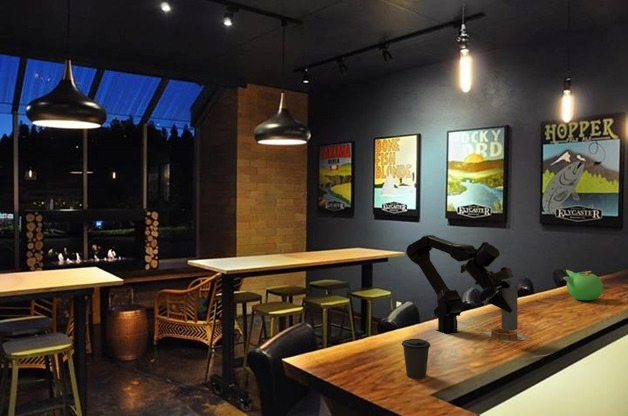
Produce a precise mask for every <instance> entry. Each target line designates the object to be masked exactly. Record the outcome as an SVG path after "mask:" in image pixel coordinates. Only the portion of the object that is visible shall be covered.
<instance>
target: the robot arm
mask: <svg viewBox="0 0 628 416" xmlns="http://www.w3.org/2000/svg"><path fill="white" fill-rule="evenodd" d="M433 249H435V250H437V251H439V252H443V253H446V254H448V255H449V256H450V257H451V258H452V259H453V260H455V261H456V262H459V263H461V262H466V263H463V264H461V265H460V273H461V274H464V273H468V275H470V277H471V278H472V279H473V280H474V284H475V286H479V287H480V288H481V289H482V291H480V293H478V294H477V299H478V300H479V301H480V302H481V304H483V303H485V302H486V303H487V304H490V305H492V306H494V307H497V308H499V309H500V310H501V309H503V310H505V311H507V312H509V313H511V312H512V310H511V308H510V307H509V305H508V304H507V302H506V301H505V300H504V298H503V297H502V290H501V289H503V288H512V287H511V286H513V282H511V281H510V280H509V279H511V278H513V277H514V275H513V269H511V268H510V267H508V266H503V267H501V268H500V270H499V271H497V272H494V271H493V270H489V269H487V268H488V267H490V266H491V265H492V263H494V262H495V260H497V259H498V258H499V256H500V251H499V249H498V248H496V247H495V246H494V245H492V244H490V243H489V242H488V241H484V242H482V243H481V244H480V246H479V247H478V248H476V247H475V246H474V245H472V244H465V243H464V244H463V243H456V242H453V241H450V240H446V239H443V238H440V237H438V236H436V235H433V234H427V235H423V236H422V237H421V238H419V239H418V240H416V241H414V242H412V243H411V244H408V245H407V247H406V252H405V253H406V256H407V257H408V258H409V260H410V261H411V262H412V263H414V264H416V265H417V266H418V267H419V269H420V270H421V271H422V273H423V274H424V276H425V278H426V280H427V281H428V283H429V284H430V286H431V288H432V289H433V291H434V293H435V294H436V302H437V306H436V307H435V308H434V310H433V314H434V317H437V319H438V320H437V329H435V331H436V332H439V333H442V334H443V335H451V334H452V335H453V334H457V333H458V334H460V331H459V330H458V317H459V316H461V313H462V310H463V308H464V302H463V297H461V296H460V295H459V292H458V291H457V290H456V289H452V290H451V289H449V287H448V286H447V284H446V283H445V281H444V280H443V278H442V276H441V275H440V273H439V271H438V270H437V268H436V267H435V265H434V264H433V262H432V261H431V253H430V252H431V251H432V250H433ZM487 299H488V300H487Z"/></svg>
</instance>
